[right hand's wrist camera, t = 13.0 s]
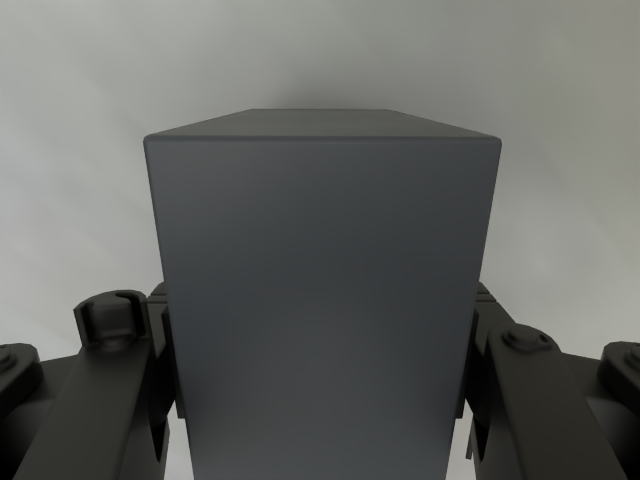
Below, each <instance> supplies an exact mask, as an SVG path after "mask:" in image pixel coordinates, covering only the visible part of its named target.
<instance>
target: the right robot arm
mask: <svg viewBox="0 0 640 480" xmlns="http://www.w3.org/2000/svg"><path fill="white" fill-rule="evenodd" d="M73 311H74V315H75V319H76V323H77V327H78V330H79V334H80V338H81V342H82V347H81V349H80V351H79V353H78V354H77V355H73V356H69V357H63V358H58V359H53V360H47V361H42V362H40V358H39V355H38V352H37V349H36V348H35V347H33V346H32V345H31V344H23V343H16V344H4V345H0V480H164V474H165V466H166V458H167V451H168V443H169V435H170V430H169V424H168V418H167V415H168V413H169V411H170V409H171V406H172V404H173V402H174V400H175V403H176V409H177V415H178V419H185V415H184V408H183V402H182V395H181V389H180V382H179V375H178V369H177V362H176V356H175V349H174V342H173V336H172V329H171V323H170V316H169V309H168V303H167V296H166V290H165V283H164V282H162V283H160V284H159V285H158V286H157V287H156V288H155V289H154V291H153V292H152V293H151V296H148V298H147V299H146V295H144V294H143V293H141V292H139V291H134V290H116V291H110V292H105V293H102V294H99V295H96V296H93V297H90V298H88V299H87V300H85V301H83V302H81V303H80V304H79V305H78V306H76V307H75V308H74V309H73ZM465 398H466V400H467V402H468V404H469V406H470V408H471V410H472V412H473V418H472V424H471V429H470V435H469V441H468V446H467V452H466V459H470V460H471V457H472V452H473V457H474V465H475V473H476V480H640V343H636V342H633V343H632V342H623V341H619V342H612V343H609V344H608V345H606V346H605V347H604V350H603V353H602V356H601V359H600V360H597V359H592V358H586V357H581V356H576V355H570V354H566V353H562V352H561V350H560V348H559V347H558V345H557V344H556V342H555V341H554V340H553V339H552V338H551V337H550V336H548V335H547V334H545V333H543V332H542V331H540V330H537V329H535V328H532V327H530V326H527V325H522V324H517V323H515V321H514V320H513V319H512V318H511V317H510V316H509V314H508V313H507V312H506V311H505V310H504V309H503V307H502V306H501V305H500V304H499V303H498V302H496V299H495V298H494V297H493V296H492V294H490V292H489V291H488V290H487V289H486V287H485V286H484V285H483V284H482V283H481V282H479V283H478V289H477V295H476V301H475V307H474V313H473V319H472V325H471V331H470V336H469V342H468V348H467V354H466V360H465V366H464V372H463V378H462V384H461V390H460V396H459V402H458V408H457V414H456V419H462V417H463V411H464V405H465Z"/></svg>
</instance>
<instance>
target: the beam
mask: <svg viewBox="0 0 640 480" xmlns="http://www.w3.org/2000/svg"><path fill="white" fill-rule="evenodd" d="M143 144H144V151H145V158H146V164H147V171H148V177H149V184H150V191H151V197H152V204H153V210H154V217H155V224H156V230H157V237H158V243H159V250H160V257H161V263H162V270H163V276H164V283H165V290H166V296H167V303H168V309H169V316H170V323H171V329H172V336H173V342H174V349H175V356H176V362H177V369H178V375H179V382H180V389H181V395H182V402H183V408H184V415H185V422H186V428H187V435H188V441H189V448H190V455H191V461H192V468H193V475H194V480H445V479H446V473H447V467H448V461H449V455H450V449H451V443H452V437H453V431H454V425H455V420H456V414H457V408H458V402H459V396H460V390H461V384H462V378H463V372H464V366H465V360H466V354H467V348H468V342H469V336H470V331H471V325H472V319H473V313H474V307H475V301H476V295H477V289H478V283H479V277H480V271H481V265H482V259H483V253H484V248H485V242H486V236H487V230H488V224H489V218H490V212H491V206H492V200H493V194H494V188H495V182H496V176H497V170H498V164H499V159H500V153H501V147H502V143H501V139H499V138H497V137H494V136H490V135H486V134H483V133H479V132H475V131H471V130H467V129H463V128H459V127H455V126H451V125H447V124H443V123H439V122H435V121H431V120H427V119H423V118H419V117H415V116H411V115H408V114H404V113H400V112H396V111H392V110H335V109H250V110H246V111H242V112H238V113H234V114H230V115H226V116H222V117H218V118H214V119H210V120H206V121H202V122H198V123H194V124H190V125H186V126H182V127H178V128H174V129H170V130H166V131H162V132H158V133H154V134H150V135H148V136H145V137H144V141H143Z"/></svg>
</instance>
